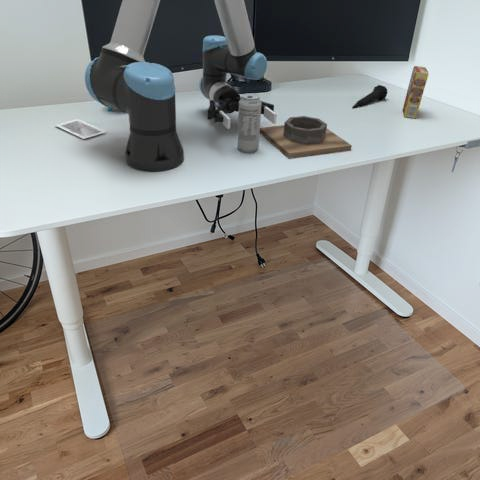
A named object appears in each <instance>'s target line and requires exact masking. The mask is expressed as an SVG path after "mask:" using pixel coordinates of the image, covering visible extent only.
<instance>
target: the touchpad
mask: <svg viewBox="0 0 480 480" xmlns="http://www.w3.org/2000/svg"><path fill="white" fill-rule="evenodd" d="M54 126H56V127H58V128H60V129H62V130H64V131H66V132H68V133H71V134H72V135H74V136H77V137H79V138H81V139H83V140H85V139H87V138H91V137H95V136H98V135H101V134H105V133H107V131H106V130H104V129H101V128H99V127H97V126H95V125H92V124H89V123H88V122H85V121H83V120H81V119H79V118H76V119H73V120H72V119H71V120H69V121H64V122H61V123H58V124H55V125H54Z"/></svg>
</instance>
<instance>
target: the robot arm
mask: <svg viewBox="0 0 480 480" xmlns="http://www.w3.org/2000/svg"><path fill="white" fill-rule="evenodd" d="M213 1H214V4H215V8H216V11H217V14H218V17H219V21H220V23H221V24H220V25H221V28H222V31H223V34H224V36H222V35H207V36H204V38H203V40H202V77H201V78H200V80H199V84H198V87H199V90H200V92H201V93H202V95H203V96H204V97H205V98H206V99H207V100H209V106H208V108H207V120H208V121H211V120H213V119H214V123H216V124H217V123H221V124H222V125H223V126H224V127H225V128H226V129H227V130H229V129H231V118H230V116H229V115H228V114H233V113H234V112H238V113H239V101H240V99H241V95H240V93H239V91H237V90H236V89H235V88H234V87H232V86H231V85H230V84H228V83H227V74H230V75H233V76H237V77H240V78H244V79H247V80H252V81H256V80H260V79H261V78H263V76H264V75H265V73H266V72H267V69H268V59H267V57H266V56H265V55H264V54H263V53H261V52H257V49H256V45H255V40H254V36H253V33H252V27H251V24H250V20H249V16H248V12H247V8H246V3H245V0H213ZM160 3H161V0H122V1H121V4H120V7H119V11H118V15H117V18H116V22H115V25H114V28H113V32H112V35H111V38H110V42H109V43H107V44H105V45H103V46H102V48H101V50H100V53H99V56H98V57H95V58H94V59H93V60H91V61H90V62H89V63H88V64H87V66H86V69H85V73H84V82H85V88H86V90H87V91H88V93H89V95H90V96H91V98H92V99H93V100H95V101H96V102H97V103H100V104H101V105H102V106H104V107H108V108H109V107H110V108H112V110H117V111H119V112H121V113H125V114H126V115H128V122H129V123H128V125H129V135H128V139H127V143H126V146H125V147H126V149H125V153H124V154H125V161H126V162H125V163H126V164H127V165H128V166H130V167H131V168H134V169H136V170H141V171H146V172H160V171H161V172H162V171H168V170H171V169H173V168H176V167H178V166H180V165H181V164H182V163H183V162H184V160H185V153H184V151H185V150H184V147H183V145H182V143H181V140H180V137H179V135H178V131H177V117H176V116H177V113H176V110H177V109H176V106H177V105H176V86H175V77H174V75H173V73H172V71H171V70H170V69H169V68H167V67H166V66H164V65H162V64H158V63H155V62H151V63H150V62H148V61H146V60H145V58H144V54H145V51H146V48H147V44H148V41H149V38H150V35H151V31H152V29H153V24H154V22H155V18H156V15H157V12H158V8H159V6H160ZM260 101H261V115H262V116H263V117H264V118H266V119H267V120H268V121H269V122H271V123H272V125H273V124H274V125H276V124H277V113H276V112H275V104H272V103H269V102H265V101H262V100H260Z"/></svg>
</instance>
